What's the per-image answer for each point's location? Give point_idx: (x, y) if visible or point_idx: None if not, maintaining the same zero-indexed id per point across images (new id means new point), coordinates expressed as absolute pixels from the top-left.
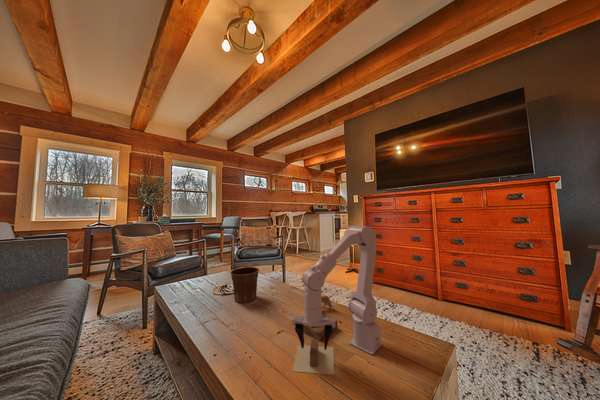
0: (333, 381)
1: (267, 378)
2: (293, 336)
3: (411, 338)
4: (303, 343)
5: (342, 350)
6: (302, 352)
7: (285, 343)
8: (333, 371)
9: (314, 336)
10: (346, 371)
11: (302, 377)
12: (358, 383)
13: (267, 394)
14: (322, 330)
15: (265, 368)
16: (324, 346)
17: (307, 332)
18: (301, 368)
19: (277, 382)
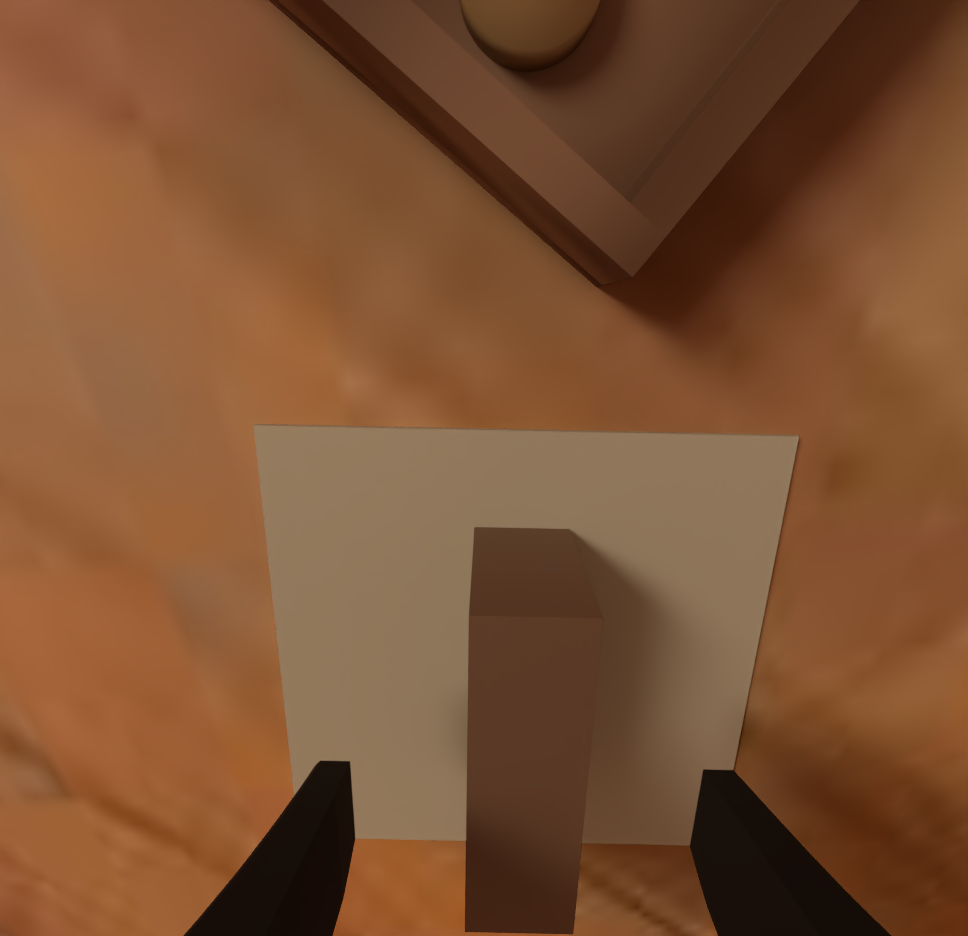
0: (692, 900)
1: (96, 905)
2: (107, 168)
3: None
4: (334, 890)
5: (916, 488)
6: (351, 577)
7: (47, 389)
8: None
9: (507, 201)
10: (849, 800)
11: (409, 880)
12: (913, 905)
13: None
14: (716, 147)
15: (15, 813)
16: (713, 920)
17: (351, 62)
18: (383, 803)
19: None
